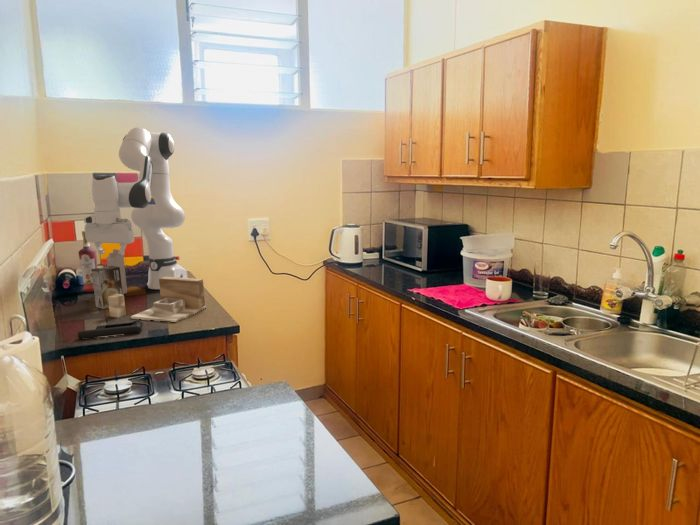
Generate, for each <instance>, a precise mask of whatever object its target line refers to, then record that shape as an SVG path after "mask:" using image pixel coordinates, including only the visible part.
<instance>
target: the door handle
mask: <svg viewBox="0 0 700 525" xmlns="http://www.w3.org/2000/svg"><path fill="white" fill-rule="evenodd" d="M142 327H143V322H142V321H141V320H134V321H132V322H125V323H124V322H123V323H115V324H108V323H107V322H101V323H100V325H97V326H96V327H95V329H88V330H87V329H86V330H81V331H78V332H77V339H78V338H92V339H95V338H94V337H105V338H109V337H108V336H114V337H117V336H116V335H123V336H125V335H124V334H128V335H133V334H132V333H137V334H140V333H141V332H142V330H143V328H142ZM139 332H140V333H139Z"/></svg>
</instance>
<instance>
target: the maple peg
mask: <svg viewBox="0 0 700 525" xmlns="http://www.w3.org/2000/svg"><path fill="white" fill-rule="evenodd" d="M108 302H109V308H108V311H109V317H111V318H121V317H123V316H126V314H127V313H126V304H125V303H126V302H125V295H124V294H123V295H120V294H114V295H111V296H108Z"/></svg>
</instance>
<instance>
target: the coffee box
mask: <svg viewBox="0 0 700 525" xmlns="http://www.w3.org/2000/svg"><path fill="white" fill-rule="evenodd" d="M91 271H92V279H93V287H94V292H93V293H94V294H93V295H94V300H95V301H94V302H95V307H96V308H98V309H101V310H105V309H109V302H108V296H111V295H114V294H120V295H124V294H123V291H122V283H121V274H120V267H116V266H107V265H106V266H103V267H97V268H96V269H91Z"/></svg>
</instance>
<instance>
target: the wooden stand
mask: <svg viewBox="0 0 700 525" xmlns="http://www.w3.org/2000/svg"><path fill="white" fill-rule="evenodd" d="M159 284H160V289H159V292H160V293H159V294H160V300H157V301H155V302H153V303H152V307H150V308H148V309H146V310H142V311H140V312H138V313H135V314H133V315H130V319H132V320H139V319H141V320H142V321H150V320H154V321H153V322H160V321H171V322H176V321H179V320H181V319H183V318H185V319H187V318H189V317H192V316H194V315H196V314H198V313H200V312H202V311H204V310H206V309H207V306H206V303H205V291H204V290H205V289H204V278H190V277H187V278H178V277H163V278H160V279H159ZM205 308H206V309H205ZM203 309H204V310H203ZM201 310H202V311H201ZM199 311H200V312H199ZM197 312H198V313H197ZM195 313H196V314H195ZM193 314H194V315H193ZM191 315H192V316H191ZM188 316H189V317H188ZM186 317H187V318H186ZM141 320H140V321H141ZM183 320H184V319H183ZM181 321H182V320H181ZM179 322H180V321H179Z"/></svg>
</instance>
